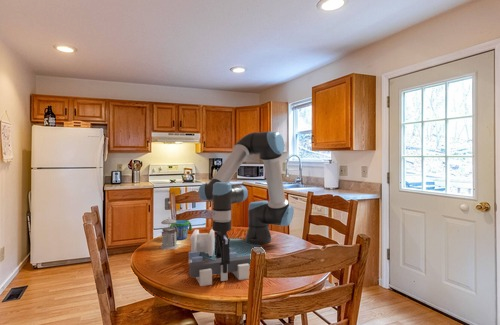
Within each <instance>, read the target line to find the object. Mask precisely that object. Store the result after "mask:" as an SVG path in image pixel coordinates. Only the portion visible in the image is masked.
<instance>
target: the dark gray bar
mask: <svg viewBox="0 0 500 325" xmlns="http://www.w3.org/2000/svg"><path fill="white" fill-rule="evenodd" d="M221 263H222V262H221V259H216V258H215V259H209V260H208V259H207V260H203V261H200V262H193V263H189V262H188V265H189V266H188V269H189V270H188V272H189V274H188V275H189V277H190V278H191V279H193V278H196V277H199V270H203V269H210V268H211V269H212V276H214V275H216V274H218V275H221V265H220V264H221ZM247 263H248V264H249V265H250V254H249V255H241V256H237V257H232V258H230V264H228V273H232V272H235V271H237V265H239V264H247Z"/></svg>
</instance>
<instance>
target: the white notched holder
mask: <svg viewBox="0 0 500 325" xmlns="http://www.w3.org/2000/svg"><path fill="white" fill-rule="evenodd" d="M229 251H230V258H232V257H238V256H237V255H238V252H236V251H233V252H232V247H231V246H229ZM200 261H204V257H203V255H199V251H192V252H191V251H188V264H189V263H193V262H200ZM249 269H250V265H249V264H248V263H247V264H239V265H237V271H235V272H231V273H232V274H233V275H234V276H235V278H236V279H237V280H239V281H243V280H247V279H248V280H249ZM250 270H251V269H250ZM195 279H196V280H197V283H198V284H199V286H200V287H205V286H211V285H213V275H212V269H211V268H210V269H203V270H199V277H195Z"/></svg>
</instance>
